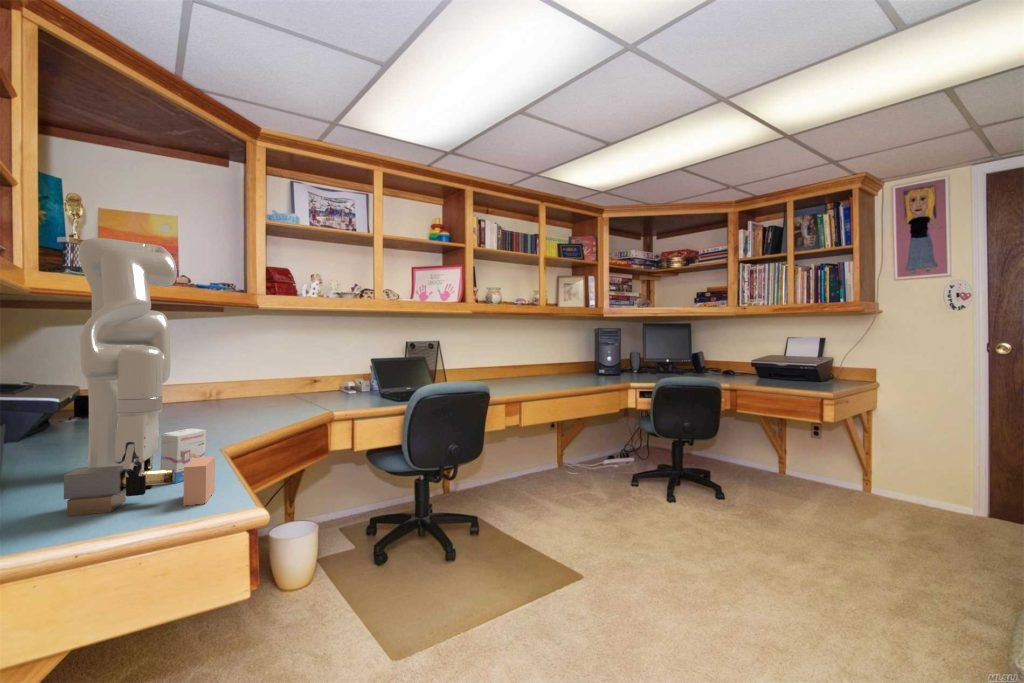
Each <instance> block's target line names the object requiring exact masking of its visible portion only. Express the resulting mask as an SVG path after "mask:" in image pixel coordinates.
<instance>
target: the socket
mask: <svg viewBox="0 0 1024 683" xmlns="http://www.w3.org/2000/svg"><path fill="white" fill-rule="evenodd" d="M215 473H216V456H205V457H201V458H194V459H193V460H192V461H191V462H189V463H188V464H187V465H186V466H185V467H184V481H183V507H186V506H185V505H189V506H196V505H195V504H200V505H205V504H204V503H206V502H207V503H208V502H209V500H210V499H211V498H212V496H213V495H214V494H215V492H214V491H215V490H216V489H215V488H216V483H215V482H216V474H215ZM213 493H214V494H213ZM212 494H213V495H212ZM211 495H212V496H211ZM209 498H210V499H209ZM207 503H206V504H207Z"/></svg>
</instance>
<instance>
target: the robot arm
mask: <svg viewBox="0 0 1024 683" xmlns="http://www.w3.org/2000/svg"><path fill="white" fill-rule="evenodd" d="M78 256H79V257H78V259H79V264H80V267H81V270H82V273H83V275H84V277H85V278H86V281H87V283H88V285H89V288H90V292H91V316H90V317H89V318H88V320H87V321H86V322H85V323H84V325H83V327H82V329H81V332H80V337H79V354H80V355H79V357H80V366H81V367H80V368H81V371H82V374H83V375H84V377H85V380H86V384H87V385H86V386H87V391H88V392H87V394H88V454H87V455H88V456H87V457H86V459H87V461H88V466H87V467H86V468H95V467H110V466H123V469H124V470H125V471H126V475H125V476H126V497H135V496H137V497H138V496H144V495H145V494H146V490H147V491H148V490H151V489H152V488H153V485H146V475H144V471H150V470H153V464H154V463H153V458H154V457H153V456H155V454H157V453H158V452H159V451H158V450H159V447H160V423H159V413H162V412H163V384H164V383H166V382H167V381H168V380H169V378H170V376H171V334H170V332H171V331H170V323H169V319H168V318H167V316H166V314H165V313H164V312H161V311H158V310H151V309H152V302H151V295H150V294H151V292H150V286H152V287H153V286H154V287H171V286H173V285H174V284H175V282H176V280H177V278H178V277H177V275H178V270H177V265H176V262H175V259H174V257H173V256H172V254H171V253H170V252H169V251H168V250H167V249H166V248H165V247H164V246H161V245H158V244H154V243H153V244H152V243H144V242H143V243H142V242H137V241H136V242H135V241H128V240H123V239H114V238H107V237H106V238H105V237H91V238H87V239H84V240H82V241H81V242H80V244H79V248H78ZM98 343H99V344H101V345H99V344H98Z"/></svg>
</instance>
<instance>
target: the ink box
mask: <svg viewBox="0 0 1024 683" xmlns="http://www.w3.org/2000/svg"><path fill="white" fill-rule="evenodd" d="M160 438H161V441H160V442H161V443H160V444H161V445H160V469H159V470H164V469H174V470H175V479H174V482H173V483H172V484H178V482H179V483H182V482H184V467H185V466H186V465H187V464H188V463H189V462H191V461H192V460H193V459H194V458H201V457H206V444H207V429H201V428H192V427H191V428H185V429H184V428H183V429H179V430H175V431H169V432H164V433H163V434H162V435H161V437H160ZM181 481H182V482H181Z"/></svg>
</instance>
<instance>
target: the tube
mask: <svg viewBox="0 0 1024 683" xmlns="http://www.w3.org/2000/svg"><path fill="white" fill-rule="evenodd" d="M125 475H126V472H122V473H121V487H126V476H125ZM144 475H146V485H152V486H154V485H166V484H174V483H173V482H174V479H175V470H174V469H164V470H160V469H152V470H150V471H144Z"/></svg>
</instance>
